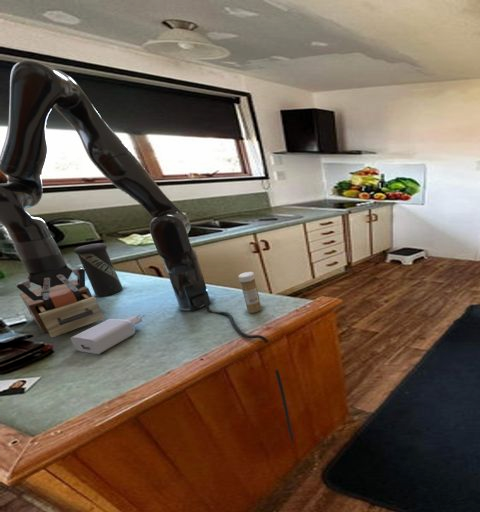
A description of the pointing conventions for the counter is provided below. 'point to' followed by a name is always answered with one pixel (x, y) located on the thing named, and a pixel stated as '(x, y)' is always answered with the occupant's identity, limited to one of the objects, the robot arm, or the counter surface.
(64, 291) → the block
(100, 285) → the container
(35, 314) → the cabinet
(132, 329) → the charger
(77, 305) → the drawer
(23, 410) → the counter surface
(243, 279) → the sprinkles bottle
